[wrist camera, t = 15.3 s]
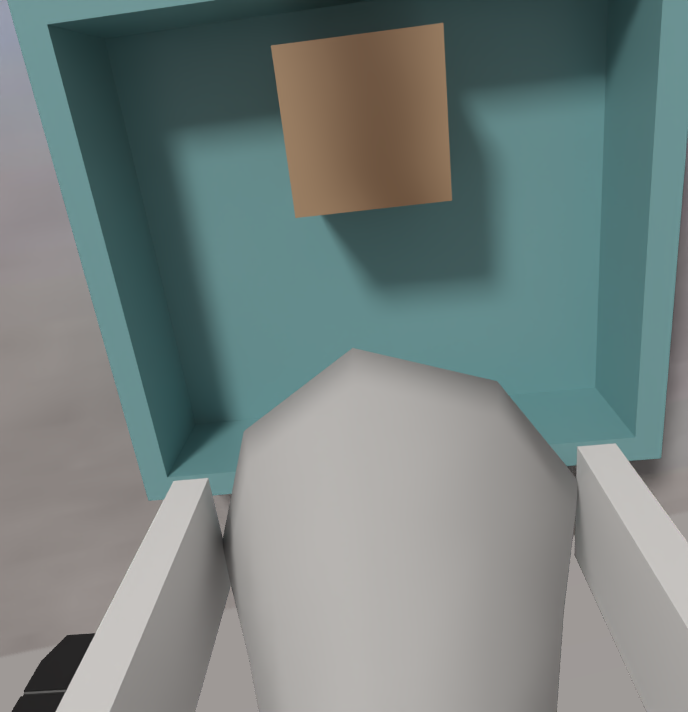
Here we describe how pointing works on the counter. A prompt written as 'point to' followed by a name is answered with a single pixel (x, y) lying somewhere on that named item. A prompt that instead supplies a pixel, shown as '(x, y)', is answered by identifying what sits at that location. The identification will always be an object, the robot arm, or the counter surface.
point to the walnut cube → (365, 120)
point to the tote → (370, 214)
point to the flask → (400, 545)
